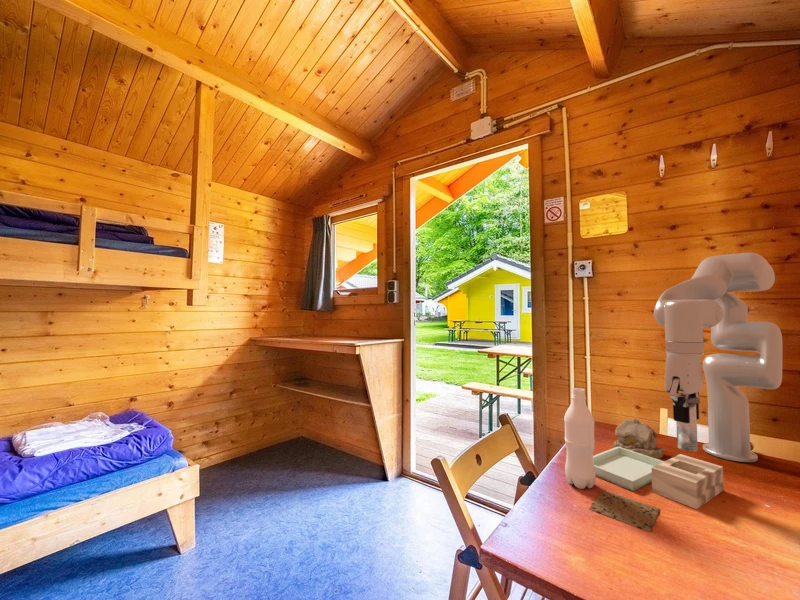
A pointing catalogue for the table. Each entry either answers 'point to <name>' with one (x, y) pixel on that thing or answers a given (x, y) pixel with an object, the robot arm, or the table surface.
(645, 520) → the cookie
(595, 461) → the tray
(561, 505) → the table surface
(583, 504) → the table surface
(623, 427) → the ceramic model
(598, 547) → the table surface
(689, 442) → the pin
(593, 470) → the water bottle
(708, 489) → the block
